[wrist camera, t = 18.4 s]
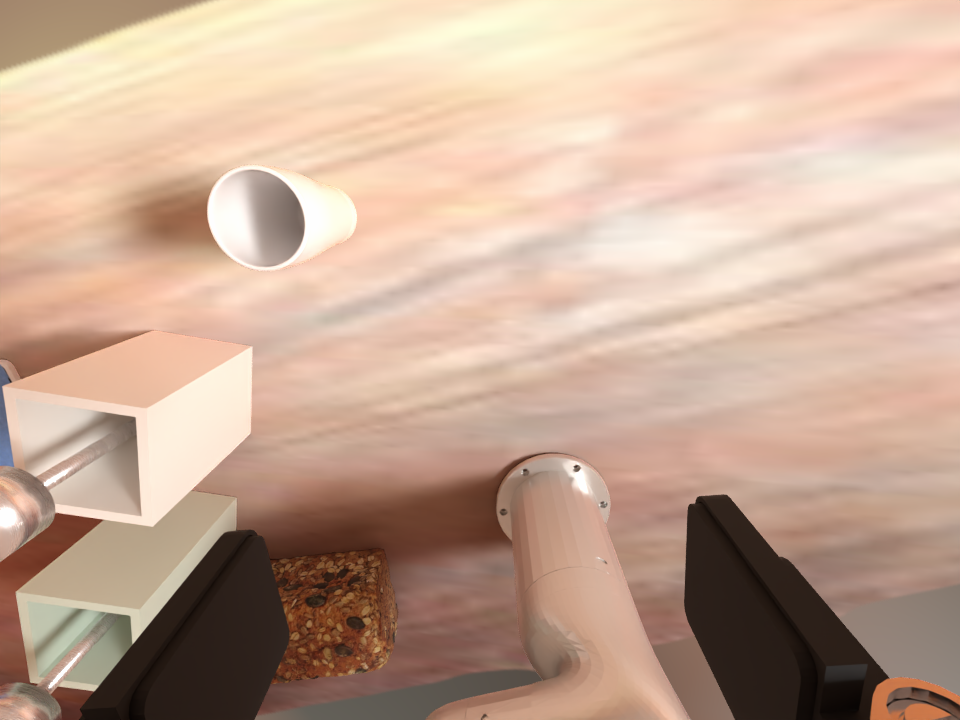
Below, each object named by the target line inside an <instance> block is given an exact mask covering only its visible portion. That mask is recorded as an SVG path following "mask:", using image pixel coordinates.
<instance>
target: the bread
mask: <svg viewBox="0 0 960 720" xmlns="http://www.w3.org/2000/svg"><path fill="white" fill-rule="evenodd" d="M270 562H271V565H272V569H273V572H274V576H275V580H276V583H277V587H278V590H279V594H280V597H281V601H282V605H283V608H284V612H285V615H286V619H287V623H288V626H289V631H290V636H289V643H288V646H287V649H286V651H285V654H284V656H283V658H282V660H281V662H280V665H279V667H278V669H277V671H276V673H275V675H274V678H273V680H272V682H271V684H275V683H287V682H291V681H292V680H302V679H315V678H318V677H333V676H342V675H349V674H355V673H358V674H360V673H367V672H370V671H374V670H376V669H380V668H381V667H382V666H384V665H385V664H386V663H387V662H388V660H389V659H390V655H391V653H392V651H393V646H394V642H395V636H396V631H397V627H396V626H397V624H398V622H397V618H398V608H397V604H396V603H395V593H394V590H393V588H392V584H391V582H390V574H389V567H388V564H387V560H386V556H385V553H384V550H381V549H380V548H379V549H369V550H364V551H348V552H346V553H338V552H337V553H330V554H323V555H313V556H304V557H295V558H292V559H291V560H289V559H286V558H284V559H278V560H270Z"/></svg>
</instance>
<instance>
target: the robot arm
mask: <svg viewBox="0 0 960 720" xmlns="http://www.w3.org/2000/svg"><path fill="white" fill-rule="evenodd" d="M574 465H576V466H574ZM523 469H526V470H523ZM610 506H611V505H610V495H609V492H608V489H607V486H606V484H605V482H604V480H603V478H602V477H601V476H600V474H599V473H598V471H597V470H595V469H594V468H593V467H592V466H591V465H590V464H588V463H586V462H585V461H583V460H581V459H579V458H576V457H574V456H571V455H565V454H543V455H538V456H535V457H532V458H529V459H527V460H525V461H523V462H521V463H520V464H518V465H517V466H516V467H514V468H513V469H512V470H511V471H510V472H509V473H508V474H507V475H506V477H505V478H504V479H503V481H502V483H501V485H500V487H499V490H498V493H497V497H496V514H497V518H498V521H499V524H500V526H501V528H502V530H503V532H504V533H505V534H506V535H507V537H508V538H509V539H510V540H511V541H512V542H513V557H514V571H515V586H516V600H517V613H518V627H519V634H520V640H521V643H522V646H523V649H524V652H525V654H526V656H527V658H528V660H529V662H530V663H531V665H532V667H533V668H534V669H535V671H536V672H537V673H538V675H539V676H540V677H541V679H542V680H543V681H540V682H535V683H534V684H531V685H526V686H521V687H517V688H512V689H508V690H503V691H498V692H494V693H489V694H484V695H479V696H475V697H471V698H467V699H463V700H459V701H455V702H452V703H448V704H446V705H444V706H442V707H440V708H438V709H436V710H435V711H434V712H432V713H431V714H430V715H429V716H428V717H427V719H426V720H690V718H689V716H688V714H687V713H686V711H685V709H684V707H683V706H682V704H681V702H680V700H679V699H678V697H677V695H676V693H675V692H674V690H673V688H672V686H671V684H670V682H669V681H668V679H667V677H666V675H665V674H664V672H663V670H662V668H661V666H660V664H659V662H658V660H657V658H656V656H655V654H654V651H653V649H652V647H651V644H650V642H649V640H648V638H647V635H646V633H645V630H644V628H643V625H642V623H641V620H640V617H639V615H638V612H637V609H636V607H635V604H634V601H633V599H632V596H631V593H630V590H629V588H628V585H627V582H626V579H625V577H624V574H623V571H622V568H621V566H620V563H619V560H618V558H617V555H616V552H615V549H614V547H613V544H612V541H611V538H610V536H609V533H608V530H607V528H606V522H607V520H608V517H609V513H610ZM684 606H685V612H686V616H687V620H688V622H689V625H690V627H691V629H692V631H693V633H694V635H695V637H696V639H697V641H698V643H699V645H700V647H701V649H702V651H703V654H704V656H705V657H706V660H707V662H708V664H709V666H710V668H711V670H712V672H713V674H714V677H715V678H716V680H717V683H718V685H719V687H720V689H721V691H722V693H723V695H724V697H725V699H726V702H727V704H728V706H729V708H730V709H731V712H732V714H733V716H734V718H735V720H960V696H958V695H956V694H954V693H952V692H950V691H948V690H946V689H944V688H942V687H940V686H938V685H935V684H931V683H928V682H926V681H922V680H919V679H912V678H904V677H898V678H891V679H890V678H889V677H888V676H887V675H886V673H885V672H884V671H883V670H882V669H881V668H880V666H879V665H878V664H877V663H876V662H875V661H874V659H873V658H872V657H871V656H870V655H869V654H868V652H867V651H866V650H865V649H864V648H863V646H862V645H861V644H860V643H859V642H858V641H857V639H856V638H855V637H854V636H853V635H852V633H851V632H850V631H849V630H848V629H847V628H846V626H845V625H844V624H843V623H842V622H841V621H840V619H839V618H838V617H837V616H836V615H835V613H834V612H833V611H832V610H831V609H830V608H829V606H828V605H827V604H826V603H825V602H824V601H823V599H822V598H821V597H820V596H819V595H818V593H817V592H816V591H815V590H814V589H813V588H812V586H811V585H810V584H809V583H808V582H807V581H806V579H805V578H804V577H803V576H802V575H801V573H800V572H799V571H798V570H797V569H796V568H795V566H794V565H793V564H792V563H791V562H790V561H788V560H787V559H785V558H783V557H779V556H778V555H777V554H776V553H775V552H774V550H773V549H772V548H771V547H770V546H769V544H768V543H767V542H766V541H765V539H764V538H763V537H762V536H761V535H760V533H759V532H758V531H757V530H756V529H755V527H754V526H753V525H752V524H751V523H750V521H749V520H748V519H747V518H746V517H745V515H744V514H743V513H742V512H741V511H740V509H739V508H738V507H737V506H736V504H735V503H734V502H733V501H732V500H731V498H730V497H728V496H727V495H711V496H699V497H697V499H696V502H695V504H690V505H689V506H688V515H687V543H686V570H685V597H684ZM289 636H290V631H289V626H288V623H287V619H286V615H285V612H284V608H283V605H282V601H281V597H280V594H279V590H278V587H277V583H276V580H275V576H274V572H273V569H272V565H271V562H270V558H269V554H268V551H267V547H266V544H265V541H264V538H263V537H262V536H257V533H256V532H255V531H254V530H239V531H228V532H224V533H223V534H222V535H221V536H220V538H219V539H218V540H217V541H216V542H215V544H214V545H213V546H212V547H211V549H210V550H209V551H208V552H207V554H206V555H205V556H204V557H203V558H202V560H201V561H200V562H199V563H198V565H197V566H196V567H195V568H194V570H193V571H192V572H191V573H190V574H189V576H188V577H187V578H186V579H185V581H184V582H183V583H182V584H181V586H180V587H179V588H178V589H177V590H176V592H175V593H174V594H173V595H172V597H171V598H170V599H169V600H168V602H167V603H166V604H165V605H164V606H163V608H162V609H161V610H160V611H159V613H158V614H157V615H156V616H155V617H154V619H153V620H152V621H151V622H150V624H149V625H148V626H147V627H146V629H145V630H144V631H143V632H142V633H141V635H140V636H139V637H138V638H137V640H136V641H135V642H134V643H133V645H132V646H131V647H130V648H129V649H128V651H127V652H126V653H125V654H124V656H123V657H122V658H121V659H120V661H119V662H118V663H117V664H116V665H115V667H114V668H113V669H112V670H111V672H110V673H109V674H108V675H107V677H106V678H105V679H104V680H103V681H102V683H101V684H100V685H99V686H98V688H97V689H96V690H95V691H94V693H93V694H92V695H91V696H90V697H89V699H88V700H87V701H86V702H85V704H84V705H83V706H82V707H81V708H80V711H81V713H82V717H81V718H80V719H79V720H254V719H255V717H256V715H257V713H258V711H259V708H260V706H261V704H262V702H263V700H264V697H265V695H266V693H267V691H268V689H269V686H270V684H271V682H272V680H273V678H274V675H275V673H276V671H277V669H278V667H279V665H280V662H281V660H282V658H283V656H284V654H285V651H286V649H287V646H288V643H289Z"/></svg>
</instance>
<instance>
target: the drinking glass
mask: <svg viewBox="0 0 960 720" xmlns="http://www.w3.org/2000/svg"><path fill="white" fill-rule="evenodd" d="M207 219H208V224H209V228H210V231H211V233H212V235H213V238H214V239H215V241H216V243H217V244H218V246H219V247H220V248H221V250H222V251H223V252H224V253H225V254H226V255H227V256H228V257H229V258H231V259H232V260H233V261H235V262H236V263H238V264H240V265H242V266H244V267H246V268H249V269H252V270H257V271H274V270H279V269H285V268H289V267H293V266H296V265H299V264H302V263H304V262H307V261H309V260H311V259H312V258H314V257H316V256H318V255H319V254H321V253H323V252H324V251H326V250H328V249H329V248H331V247H333V246H335V245H338V244H341V243H343V242H345V241H346V240H347V239H348V238H349V237H350V236H351V235H352V234H353V232H354V230H355V227H356V223H357V213H356V209H355V206H354V204H353V202H352V200H351V199H350V198H349V196H348V195H347V194H346V193H344V192H343V191H342V190H340V189H338V188H336V187H333V186H329V185H325V184H323V183H320V182H318V181H315V180H313V179H311V178H308V177H306V176H304V175H301V174H299V173H296V172H293V171H290V170H287V169H282V168H278V167H271V166H261V165H244V166H239V167H236V168H233V169H231V170H229V171H228V172H226V173H225V174H223V175H222V176H221V177H220V178H219V179H218V180H217V182H216V183H215V184H214V186H213V188H212V190H211V192H210V195H209V198H208V203H207Z"/></svg>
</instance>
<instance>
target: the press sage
mask: <svg viewBox="0 0 960 720" xmlns="http://www.w3.org/2000/svg"><path fill="white" fill-rule="evenodd" d="M236 526H237V497H231V496H225V495H218V494H211V493H205V492H198V491H190V492H189V493H188V494H187V495H186V496H184V497H183V498H182V499H181V500H180V501H179V502H178V503H177V504H176V505H175V506H174V507H173V508H172V509H171V510H170V511H169V512H168V513H167V514H166V515H165V516H163V517H162V518H161V519H160V520H159V521H158V522H157V523H156V524H155V525H154V526H153V527H151V526H144V525H137V524H130V523H124V522H117V521H110V520H103V521H102V522H101V523H100V524H98V525H97V526H96V527H95V528H93V529H92V530H91V531H90V532H89V533H87V534H86V535H85V536H84V537H82V538H81V539H80V540H79V541H77V542H76V543H75V544H74V545H73V546H71V547H70V548H69V549H68V550H66V551H65V552H64V553H63V554H62V555H60V556H59V557H58V558H57V559H55V560H54V561H53V562H52V563H50V564H49V565H48V566H47V567H46V568H44V569H43V570H42V571H41V572H39V573H38V574H37V575H36V576H35V577H33V578H32V579H31V580H30V581H28V582H27V583H26V584H25V585H23V586H22V587H21V588H20V589H19V590H17V591H16V598H17V604H18V610H19V616H20V622H21V629H22V635H23V641H24V647H25V653H26V659H27V666H28V672H29V678H30V683H37V684H39V683H40V682H41V681H42V680H43V679H44V678H45V677H46V676H47V675H48V673H49V672H50V671H51V670H52V669H53V668H54V667H55V666H56V665H57V664H58V663H59V662H60V661H61V660H62V659H63V658H64V657H65V655H66V654H67V653H68V652H69V651H70V650H71V649H72V648H73V647H74V646H75V645H76V644H77V643H78V642H79V641H80V640H81V638H82V637H83V636H84V635H85V634H86V633H87V632H88V631H89V630H90V629H91V628H92V627H93V626H94V625H95V624H96V623H97V622H98V620H99V619H100V618H101V617H102V616H103V615H104V614H105V613H106V612H108V613H115V614H122V615H121V616H120V618H119V619H118V620H117V621H116V622H115V623H114V624H113V625H112V626H111V628H110V629H109V630H108V631H107V632H106V633H105V634H104V635H103V636H102V638H101V639H100V640H99V641H98V642H97V643H96V644H95V645H94V646H93V648H92V649H91V650H90V651H89V652H88V653H87V654H86V655H85V657H84V658H83V659H82V660H81V661H80V662H79V663H78V664H77V665H76V667H75V668H74V669H73V670H72V671H71V672H70V673H69V674H68V675H67V677H66V678H65V679H64V680H63V681H62V682H61V683H60V684H59V685H58V686H60V687H67V688H74V689H82V690H89V691H95V690H96V689H97V688H98V686H99V685H100V684H101V683H102V681H103V680H104V679H105V678H106V677H107V675H108V674H109V673H110V672H111V670H112V669H113V668H114V667H115V665H116V664H117V663H118V662H119V661H120V659H121V658H122V657H123V656H124V654H125V653H126V652H127V651H128V649H129V648H130V647H131V646H132V645H133V643H134V642H135V641H136V640H137V638H138V637H139V636H140V635H141V633H142V632H143V631H144V630H145V629H146V627H147V626H148V625H149V624H150V622H151V621H152V620H153V619H154V617H155V616H156V615H157V614H158V613H159V611H160V610H161V609H162V608H163V606H164V605H165V604H166V603H167V602H168V600H169V599H170V598H171V597H172V595H173V594H174V593H175V592H176V590H177V589H178V588H179V587H180V586H181V584H182V583H183V582H184V581H185V579H186V578H187V577H188V576H189V574H190V573H191V572H192V571H193V570H194V568H195V567H196V566H197V565H198V563H199V562H200V561H201V560H202V558H203V557H204V556H205V555H206V554H207V552H208V551H209V550H210V549H211V547H212V546H213V545H214V544H215V542H216V541H217V540H218V539H219V538H220V536H221V535H222V534H223V533H224V532H228V531H236Z"/></svg>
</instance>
